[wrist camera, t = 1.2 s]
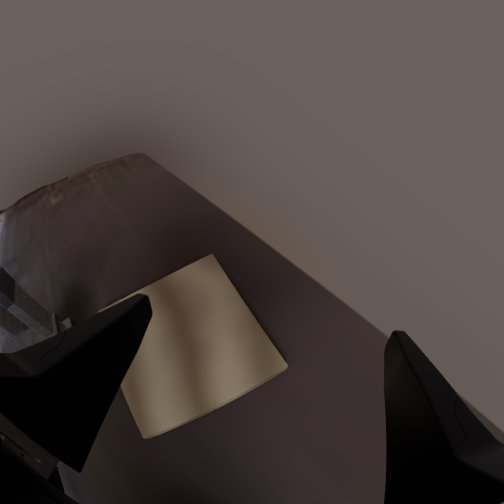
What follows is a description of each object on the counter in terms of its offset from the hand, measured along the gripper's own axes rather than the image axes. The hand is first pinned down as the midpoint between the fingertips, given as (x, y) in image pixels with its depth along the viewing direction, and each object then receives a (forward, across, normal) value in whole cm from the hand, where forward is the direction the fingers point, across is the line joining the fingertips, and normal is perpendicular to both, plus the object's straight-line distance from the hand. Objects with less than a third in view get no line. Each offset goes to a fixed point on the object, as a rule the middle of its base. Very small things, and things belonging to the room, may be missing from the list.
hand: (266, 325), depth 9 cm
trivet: (+8, +9, +13) cm, 17 cm away
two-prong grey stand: (+4, +22, +15) cm, 26 cm away
